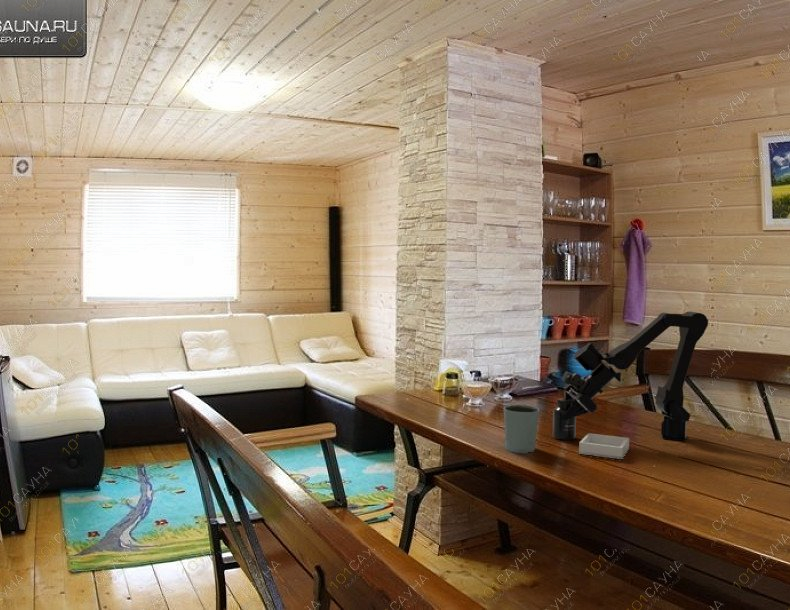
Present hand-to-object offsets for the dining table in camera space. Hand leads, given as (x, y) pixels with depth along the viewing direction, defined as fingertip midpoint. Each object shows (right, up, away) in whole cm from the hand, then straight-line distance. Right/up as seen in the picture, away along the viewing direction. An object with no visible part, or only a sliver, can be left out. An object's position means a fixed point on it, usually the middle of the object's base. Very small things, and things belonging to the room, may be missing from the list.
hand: (559, 416), depth 206 cm
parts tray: (+9, -8, -15) cm, 19 cm away
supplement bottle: (+1, -7, 0) cm, 7 cm away
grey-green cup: (-14, -8, -12) cm, 20 cm away
